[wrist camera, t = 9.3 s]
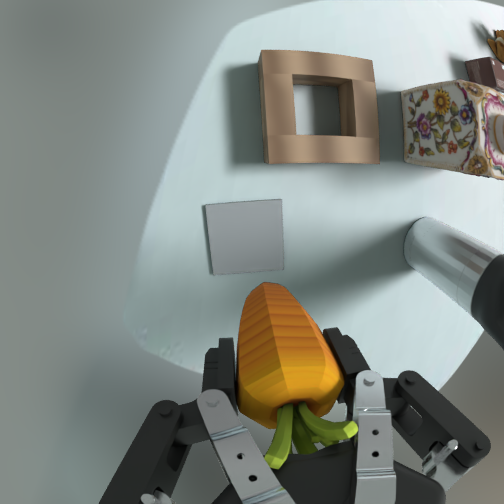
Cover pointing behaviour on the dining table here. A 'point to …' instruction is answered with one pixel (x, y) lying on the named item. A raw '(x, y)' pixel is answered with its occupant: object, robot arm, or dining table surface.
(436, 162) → the decorative jar
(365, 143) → the socket block
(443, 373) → the dining table surface
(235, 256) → the rubber mat
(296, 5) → the dining table surface
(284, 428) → the carrot
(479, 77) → the box
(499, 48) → the stuffed squirrel
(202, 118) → the dining table surface
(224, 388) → the robot arm
